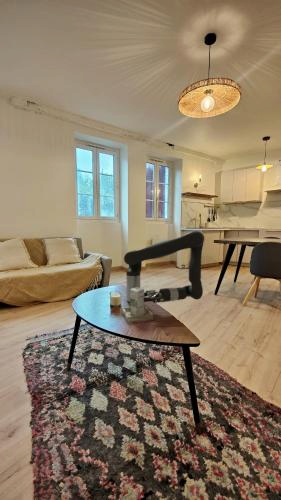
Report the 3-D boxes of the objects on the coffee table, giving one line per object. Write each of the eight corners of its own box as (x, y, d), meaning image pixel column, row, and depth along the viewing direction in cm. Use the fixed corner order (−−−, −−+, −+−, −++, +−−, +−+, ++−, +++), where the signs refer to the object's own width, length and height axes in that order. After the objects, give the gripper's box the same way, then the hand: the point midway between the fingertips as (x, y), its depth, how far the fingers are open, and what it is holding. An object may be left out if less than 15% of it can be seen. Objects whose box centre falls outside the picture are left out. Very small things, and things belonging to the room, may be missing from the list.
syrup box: (144, 314, 121) (144, 288, 120) (137, 317, 117) (137, 291, 115) (137, 311, 125) (137, 286, 124) (129, 314, 121) (129, 288, 119)
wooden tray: (121, 312, 126) (121, 307, 125) (145, 310, 130) (145, 305, 130) (127, 323, 113) (127, 317, 112) (153, 319, 117) (153, 314, 116)
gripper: (163, 285, 132) (137, 287, 127) (174, 291, 118) (145, 294, 114) (163, 297, 133) (137, 299, 128) (173, 305, 119) (145, 308, 114)
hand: (141, 297), depth 121 cm, fingers open, 8 cm apart
